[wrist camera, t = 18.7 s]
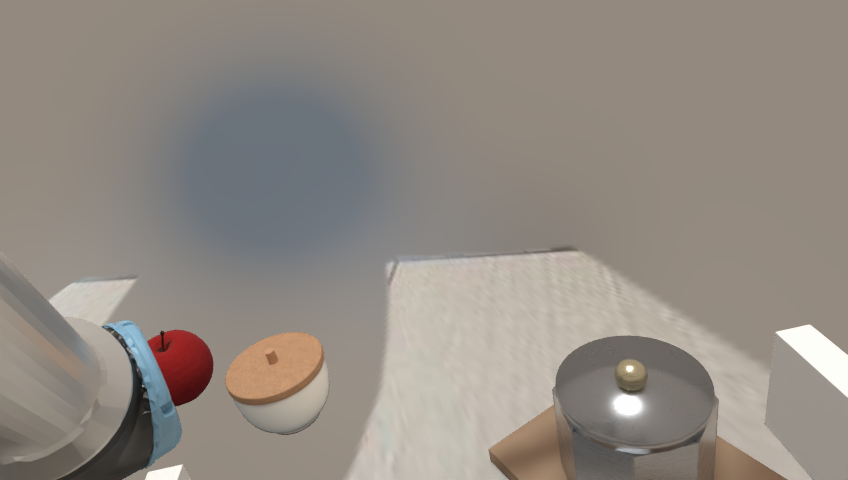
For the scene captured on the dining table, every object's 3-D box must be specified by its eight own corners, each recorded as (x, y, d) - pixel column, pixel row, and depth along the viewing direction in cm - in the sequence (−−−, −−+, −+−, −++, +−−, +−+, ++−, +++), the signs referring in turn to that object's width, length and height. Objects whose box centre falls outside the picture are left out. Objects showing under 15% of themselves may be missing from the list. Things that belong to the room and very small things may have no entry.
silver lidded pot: (593, 548, 43) (583, 436, 37) (548, 434, 53) (535, 334, 47) (739, 515, 43) (751, 399, 37) (666, 408, 53) (667, 304, 47)
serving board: (490, 460, 53) (488, 449, 53) (608, 378, 60) (608, 367, 59) (674, 646, 37) (674, 633, 37) (809, 507, 44) (811, 495, 43)
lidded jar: (283, 376, 71) (258, 317, 66) (356, 386, 66) (335, 323, 62) (229, 443, 62) (197, 379, 58) (309, 459, 58) (281, 392, 54)
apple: (201, 360, 77) (173, 301, 73) (235, 383, 71) (206, 320, 67) (137, 403, 72) (102, 342, 67) (168, 432, 66) (132, 367, 61)
